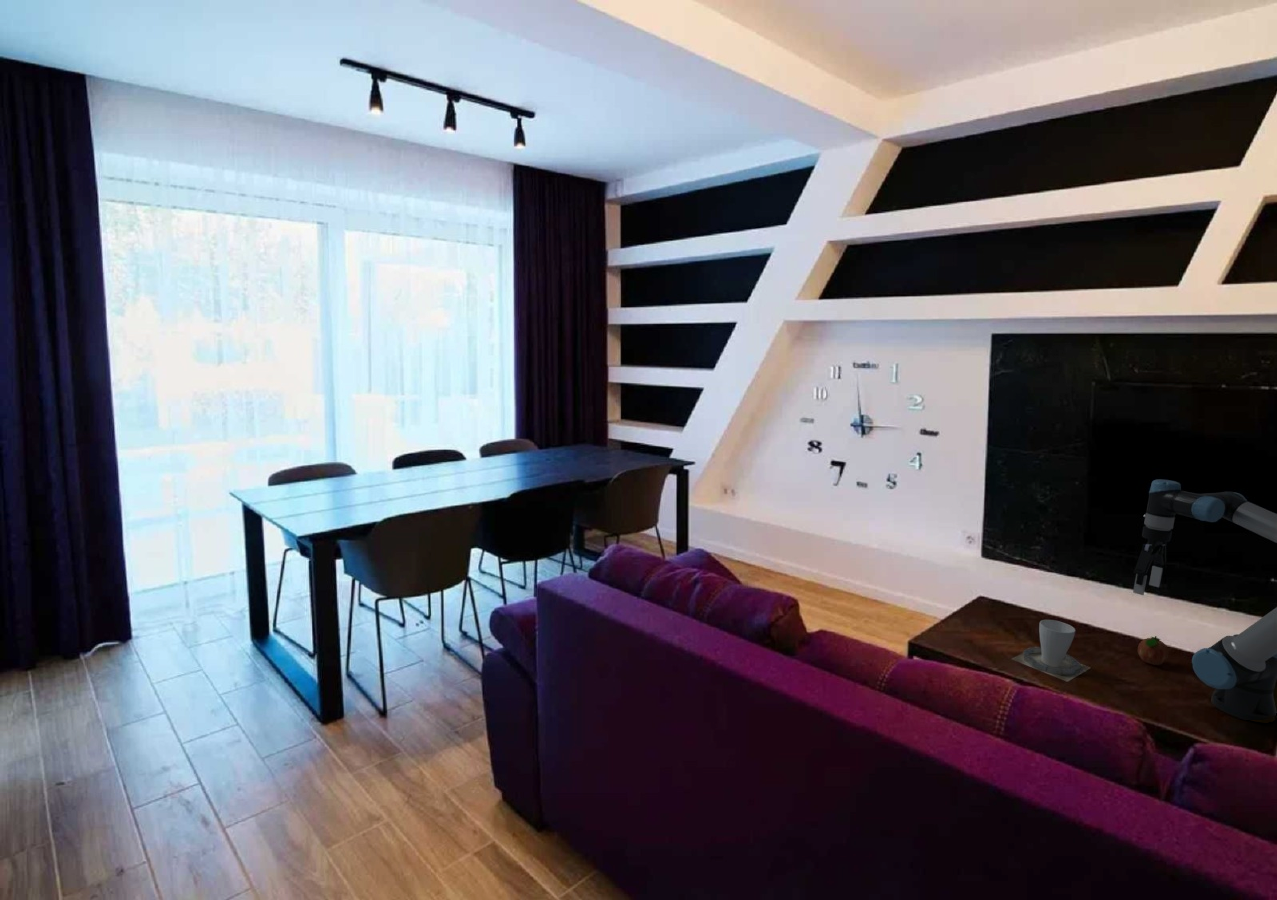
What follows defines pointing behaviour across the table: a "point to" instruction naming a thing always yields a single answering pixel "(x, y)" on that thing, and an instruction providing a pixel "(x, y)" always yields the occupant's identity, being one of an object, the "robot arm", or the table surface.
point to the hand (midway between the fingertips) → (1146, 589)
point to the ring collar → (1050, 669)
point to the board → (1064, 665)
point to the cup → (1055, 641)
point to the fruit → (1153, 651)
